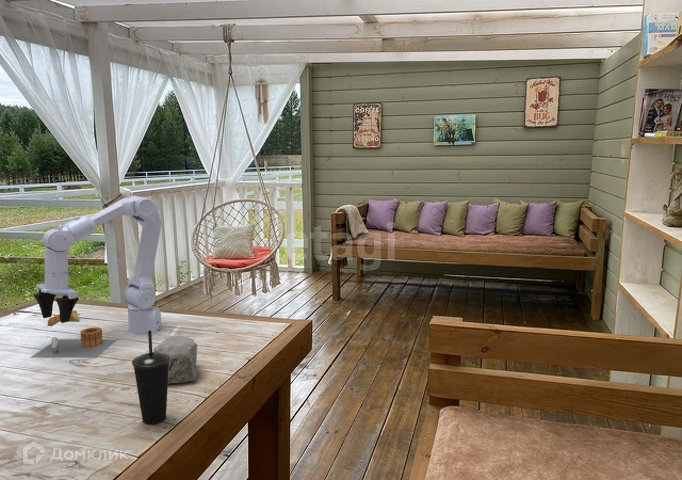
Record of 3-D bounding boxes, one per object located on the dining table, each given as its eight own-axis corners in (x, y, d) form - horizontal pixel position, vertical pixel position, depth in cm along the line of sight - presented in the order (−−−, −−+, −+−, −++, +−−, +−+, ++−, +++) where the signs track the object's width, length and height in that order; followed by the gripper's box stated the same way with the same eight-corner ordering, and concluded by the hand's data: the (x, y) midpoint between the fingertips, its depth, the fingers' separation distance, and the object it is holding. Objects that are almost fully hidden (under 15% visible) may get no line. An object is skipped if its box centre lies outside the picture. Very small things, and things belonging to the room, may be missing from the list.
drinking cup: (141, 410, 114) (136, 325, 111) (176, 409, 114) (172, 324, 111) (130, 428, 106) (125, 337, 103) (167, 427, 107) (163, 336, 104)
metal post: (59, 351, 143) (58, 336, 143) (56, 353, 142) (55, 338, 141) (54, 351, 143) (53, 336, 143) (51, 353, 142) (50, 338, 141)
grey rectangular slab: (117, 344, 154) (117, 339, 153) (96, 362, 140) (96, 357, 140) (57, 343, 153) (57, 339, 153) (30, 362, 139) (30, 357, 139)
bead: (105, 340, 153) (105, 327, 152) (97, 347, 147) (96, 333, 146) (87, 340, 152) (86, 327, 152) (77, 347, 147) (76, 333, 146)
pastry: (49, 328, 167) (48, 317, 167) (46, 323, 173) (45, 312, 172) (81, 323, 173) (80, 312, 173) (76, 318, 178) (75, 307, 178)
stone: (151, 369, 136) (149, 334, 134) (196, 363, 140) (195, 329, 138) (151, 390, 124) (149, 351, 122) (200, 383, 128) (199, 345, 126)
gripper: (25, 270, 141) (25, 318, 143) (60, 277, 135) (60, 327, 137) (49, 267, 148) (49, 313, 149) (83, 274, 142) (83, 321, 143)
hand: (56, 319), depth 143 cm, fingers open, 7 cm apart
